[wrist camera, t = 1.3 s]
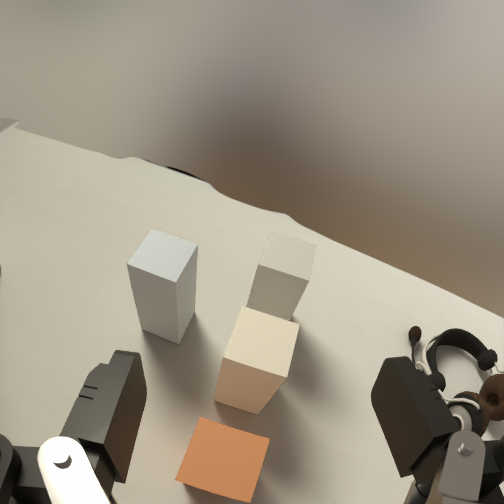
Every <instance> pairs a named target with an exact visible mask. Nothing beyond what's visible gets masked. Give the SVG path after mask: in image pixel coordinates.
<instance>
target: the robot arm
mask: <svg viewBox="0 0 504 504" xmlns="http://www.w3.org/2000/svg"><path fill="white" fill-rule="evenodd" d="M0 272H1V267H0ZM146 397H147V387H146V382H145V377H144V372H143V366H142V361H141V356H140V354H139V353H136V352H129V351H121V350H116V351H115V352H114V354H113V356H112V358H111V360H110V362H109V364H102V363H100V364H99V365H98V366H97V367H95V368H94V369H93V370H92V371H91V372H90V373H89V374H88V376H87V378H86V380H85V383H84V385H83V387H82V389H81V391H80V393H79V397H77V399H76V401H75V403H74V405H73V407H72V410H71V412H70V414H69V416H68V418H67V421H66V423H65V425H64V427H63V429H62V432H61V433H60V435H59V436H58V437H54V438H51V439H49V440H47V441H46V442H45V443H43V445H42V446H41V447H23V446H13V445H12V444H11V443H10V441H9V440H8V439H7V438H6V437H5V436H3V435H1V434H0V504H118V503H117V501H116V500H115V498H114V496H113V494H112V488H113V484H114V481H115V482H120V483H124V484H125V482H126V478H127V473H128V469H129V465H130V461H131V457H132V453H133V449H134V445H135V441H136V437H137V433H138V429H139V426H140V422H141V418H142V414H143V411H144V407H145V403H146ZM441 397H442V396H441V395H440V393H439V392H438V390H436V387H435V385H434V384H433V382H432V380H431V379H430V377H428V376H427V375H426V374H425V373H423V372H422V371H421V370H420V369H416V368H415V366H414V365H413V363H412V361H411V360H410V359H409V358H408V357H407V356H403V357H393V358H387V359H385V361H384V362H383V365H382V367H381V370H380V372H379V374H378V377H377V379H376V381H375V384H374V386H373V389H372V392H371V402H372V406H373V408H374V411H375V413H376V416H377V418H378V421H379V423H380V425H381V428H382V430H383V433H384V435H385V438H386V440H387V443H388V446H389V448H390V451H391V453H392V456H393V458H394V461H395V464H396V466H397V469H398V472H399V474H400V477H401V478H402V477H405V476H409V475H412V474H413V476H414V478H415V480H414V481H413V482H412V484H411V486H410V489H409V491H408V494H407V496H406V499H405V502H404V504H504V496H503V494H502V491H501V489H500V487H499V485H500V484H501V483H502V482H503V481H504V436H503V437H502V438H501V439H500V440H493V441H483V440H482V439H481V438H480V437H479V436H478V435H477V434H476V433H474V432H472V431H468V430H461V428H460V427H459V425H458V423H457V421H456V420H455V418H454V416H453V415H452V413H451V411H450V410H449V408H448V406H447V405H446V403H445V401H444V400H443V399H442V398H441Z"/></svg>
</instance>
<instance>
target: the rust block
mask: <svg viewBox="0 0 504 504" xmlns="http://www.w3.org/2000/svg"><path fill="white" fill-rule="evenodd" d="M269 441H270V438H266V437H262V436H259V435H255V434H252V433H248V432H245V431H242V430H238V429H235V428H232V427H229V426H226V425H223V424H220V423H217V422H214V421H211V420H208V419H205V418H202V417H200V418H199V420H198V423H197V425H196V428H195V431H194V433H193V436H192V438H191V441H190V443H189V446H188V448H187V451H186V454H185V456H184V459H183V461H182V464H181V466H180V469H179V471H178V474H177V476H176V479H175V480H177V481H179V482H182V483H185V484H188V485H190V486H193V487H196V488H199V489H202V490H205V491H208V492H212V493H215V494H218V495H222V496H225V497H229V498H232V499H236V500H240V501H244V502H248V503H250V502H251V499H252V496H253V493H254V490H255V486H256V483H257V480H258V477H259V474H260V471H261V467H262V464H263V461H264V458H265V454H266V451H267V448H268V444H269Z"/></svg>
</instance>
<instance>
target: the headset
mask: <svg viewBox="0 0 504 504" xmlns="http://www.w3.org/2000/svg"><path fill="white" fill-rule="evenodd" d="M408 334H409V340H410V341H411V342H412V363H413V365H414V366H416V368H417V369H420V367H419V366H418V364H420V365H421V366H422V368H423V373H425V374H426V375H427V376H428V377H430V379H431V380H432V382H433V384H434V385H435V387H436V390H438V392H439V393H440V395H441V396H442V398H443V399H444V400H446V401H448V402H449V403H448V404H447V406H448V408H449V410H450V411H451V413H452V415H453V416H454V418H455V420H456V421H457V423H458V425H459V427H460V428H461V430H468V431H472V432H474V433H476V434H477V435H478V436H479V437H480V438H481V437H482V435H483V434H484V433H485V431H486V429H487V426H488V423H489V420H494V421H501V420H504V374H495V375H493V372H492V369H491V368H492V367H494V366H496V369H497V371H498V372H500V373H504V370H500V369H499V367H498V365H497V354H496V352H495V351H494V350H492V349H490V350H488V349H487V348H486V346H485V345H484V343H483V342H482V340H479V339H478V338H477V337H475V336H474V335H473V334H471V333H469V332H467V331H465V330H462V329H457V328H455V329H449V330H446V331H445V332H443V333H440V334H438V335H436V336H434V337H433V338H431V339H430V340H429V341H428V342H427V343H426V345H425V346H424V348H423V349H422V352H421V362H420V361H418V362H417V363H416V364H415V360H414V346H415V344H416V342H417V341H419V340H420V338H421V329H420V328H419V327H417V326H414V327H412V328H411V329H410V331H409V333H408ZM436 339H437V340H436ZM434 340H436V341H435V342H434V343H433V345H432V346H431V347H430V348H429V349H428V351H427V352H426V348H427V346H428V344H429V343H431V342H432V341H434ZM440 345H450V346H456V347H459V348H461V349H463V350H465V351H467V352H469V353H470V354H471V355H473V356H474V357H475V358H476V359H477V360H478V362H477V363H478V366H479V368H480V369H481V370H483V371H487V370H489V371H490V373H491V376H490V377H489V378H488V379H487V380H486V381H485V382H484V384H483V386H482V387H481V390H480V393H479V394H477V393H474V392H468V391H465V392H462V393H459V394H457V395H456V396H455V397H454V398H452V399H449V398H446V397H445V395H444V394H443V393H442V392H443V391H444V389H445V386H446V383H445V378H444V376H443V374H441V373H440V372H438V369H437V365H436V348H437V346H440ZM420 370H421V369H420ZM421 371H422V370H421Z"/></svg>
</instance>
